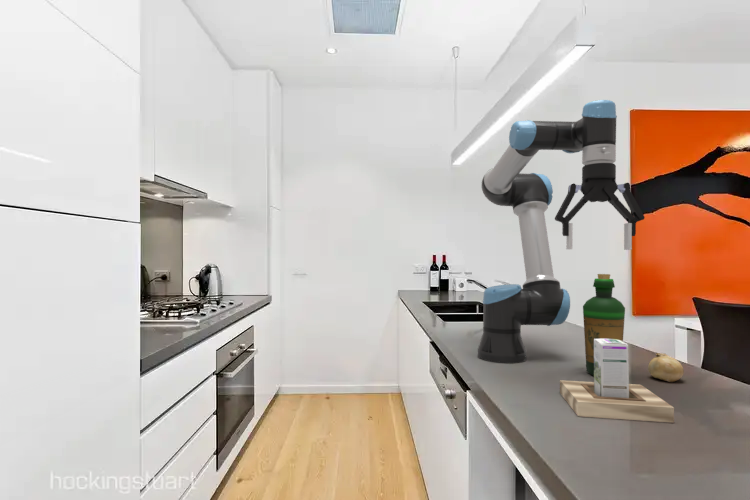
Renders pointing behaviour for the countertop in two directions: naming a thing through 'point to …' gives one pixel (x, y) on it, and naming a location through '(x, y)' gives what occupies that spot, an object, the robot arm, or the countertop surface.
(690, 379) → the countertop surface
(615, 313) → the bottle
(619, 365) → the syrup box
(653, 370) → the onion
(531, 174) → the robot arm
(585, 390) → the beige flat square frame
